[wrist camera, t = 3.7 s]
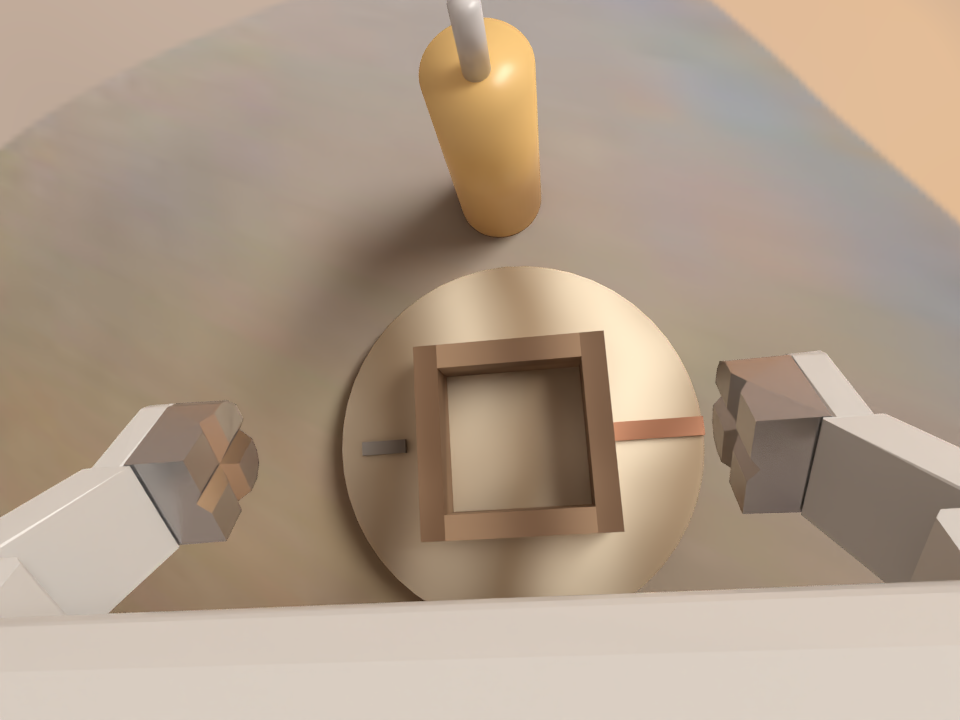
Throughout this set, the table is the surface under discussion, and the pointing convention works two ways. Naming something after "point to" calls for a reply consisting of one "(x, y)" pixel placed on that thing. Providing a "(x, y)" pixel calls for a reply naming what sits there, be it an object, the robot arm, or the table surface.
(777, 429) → the robot arm
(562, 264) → the table surface
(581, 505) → the dial plate
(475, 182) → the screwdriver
